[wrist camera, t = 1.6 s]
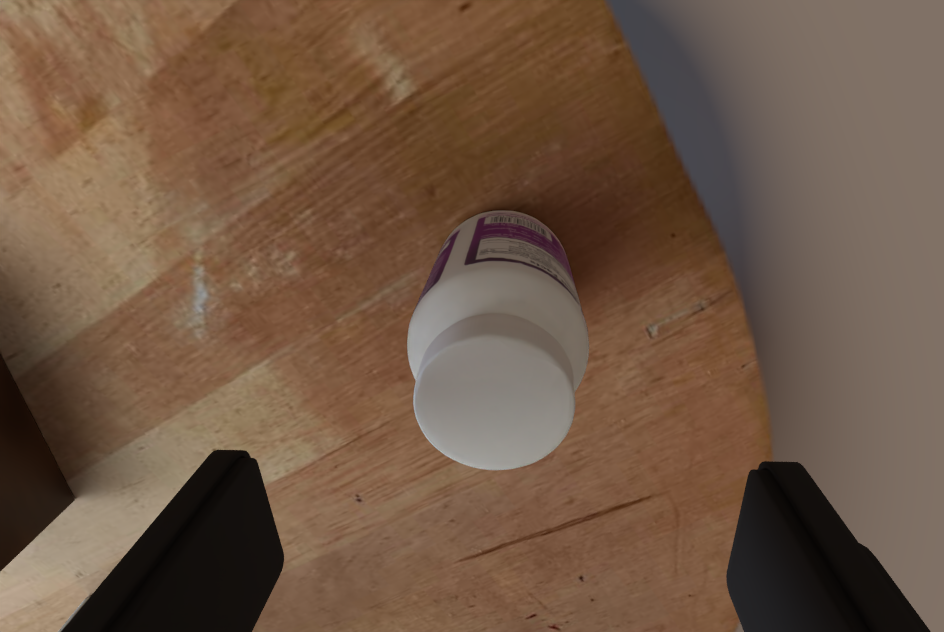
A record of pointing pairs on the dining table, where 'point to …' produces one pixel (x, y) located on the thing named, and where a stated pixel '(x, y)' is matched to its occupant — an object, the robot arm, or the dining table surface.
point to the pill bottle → (498, 343)
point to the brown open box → (24, 475)
